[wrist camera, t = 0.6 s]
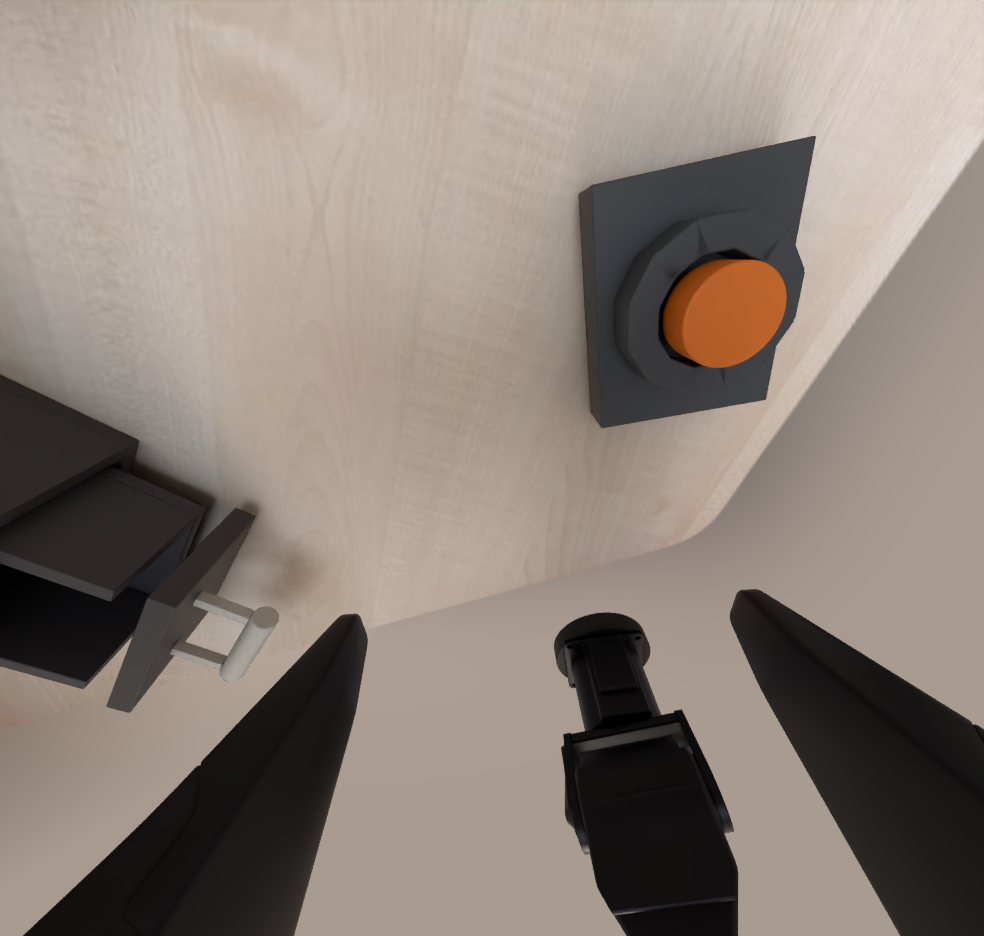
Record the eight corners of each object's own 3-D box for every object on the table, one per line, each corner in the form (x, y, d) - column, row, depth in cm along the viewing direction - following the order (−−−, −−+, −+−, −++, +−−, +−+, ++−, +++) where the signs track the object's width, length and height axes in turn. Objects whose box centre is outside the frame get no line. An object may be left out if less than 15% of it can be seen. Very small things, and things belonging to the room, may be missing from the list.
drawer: (322, 546, 24) (269, 642, 18) (266, 633, 28) (208, 735, 22) (7, 402, 19) (-212, 470, 13) (-5, 534, 23) (-175, 632, 17)
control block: (739, 386, 20) (793, 413, 17) (590, 412, 21) (612, 444, 17) (775, 150, 15) (861, 118, 12) (578, 193, 16) (605, 175, 12)
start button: (748, 348, 15) (776, 358, 14) (659, 364, 16) (678, 376, 14) (763, 250, 14) (798, 249, 12) (664, 270, 14) (685, 271, 12)
